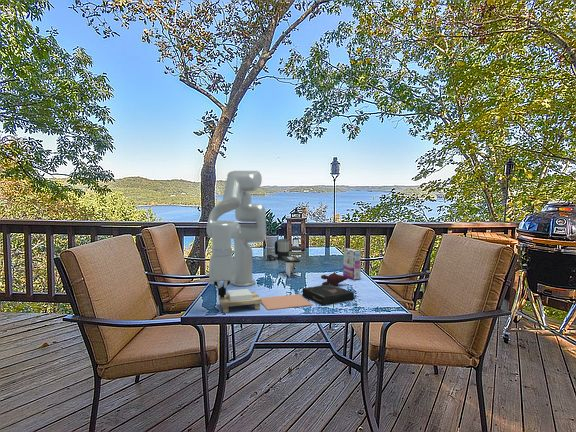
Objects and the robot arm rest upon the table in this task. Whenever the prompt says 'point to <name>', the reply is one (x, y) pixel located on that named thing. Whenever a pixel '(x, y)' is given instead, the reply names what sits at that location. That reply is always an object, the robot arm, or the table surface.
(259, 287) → the table surface
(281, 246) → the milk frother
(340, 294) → the portable cd player
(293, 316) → the table surface
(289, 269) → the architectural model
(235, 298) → the coaster
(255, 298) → the serving board
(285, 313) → the table surface
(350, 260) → the candy bar box
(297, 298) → the mat
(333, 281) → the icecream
